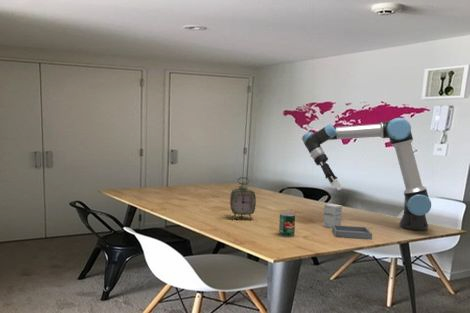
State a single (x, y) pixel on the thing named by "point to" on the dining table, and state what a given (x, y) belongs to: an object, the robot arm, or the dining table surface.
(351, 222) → the dining table surface
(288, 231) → the canned tomato
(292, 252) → the dining table surface
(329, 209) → the supplement box
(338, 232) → the gray tray
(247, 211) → the tabletop clock
